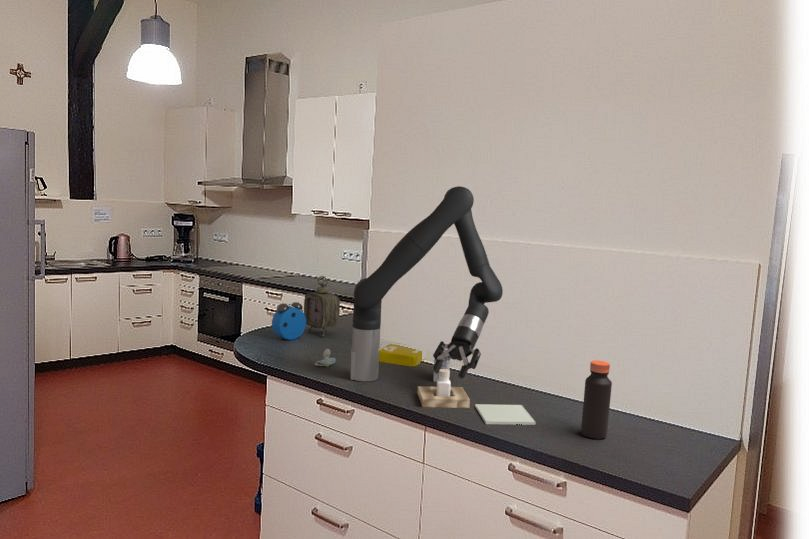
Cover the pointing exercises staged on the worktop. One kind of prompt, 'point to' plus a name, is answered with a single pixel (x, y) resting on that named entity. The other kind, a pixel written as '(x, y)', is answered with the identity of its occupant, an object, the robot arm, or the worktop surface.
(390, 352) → the element tile
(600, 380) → the bottle
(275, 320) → the alarm clock
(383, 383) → the worktop surface
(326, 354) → the pacifier
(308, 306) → the tabletop clock
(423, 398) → the oak holder
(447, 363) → the medicine box
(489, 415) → the sage trivet
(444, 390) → the salt shaker
